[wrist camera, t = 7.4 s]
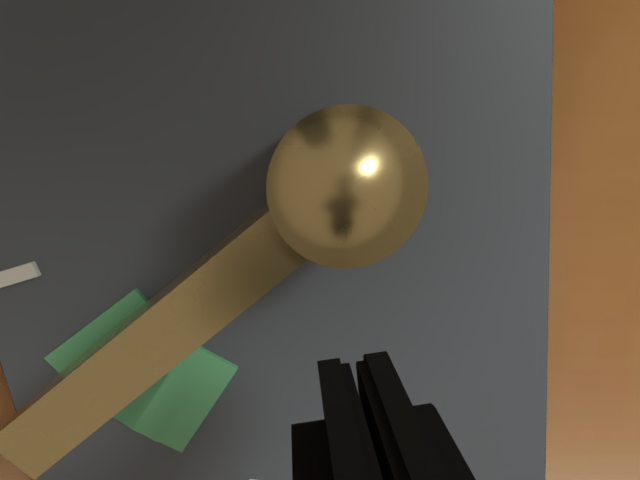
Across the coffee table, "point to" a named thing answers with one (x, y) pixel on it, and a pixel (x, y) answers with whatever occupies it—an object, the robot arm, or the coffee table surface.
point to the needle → (241, 270)
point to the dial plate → (250, 195)
